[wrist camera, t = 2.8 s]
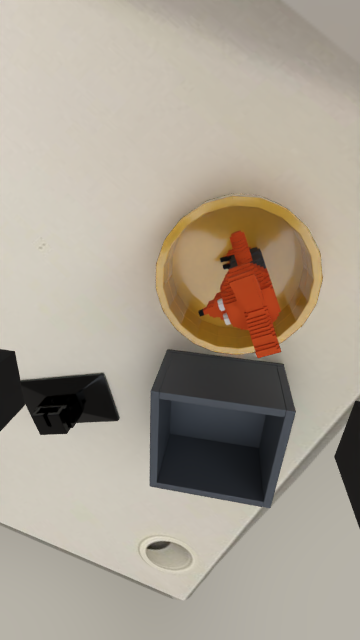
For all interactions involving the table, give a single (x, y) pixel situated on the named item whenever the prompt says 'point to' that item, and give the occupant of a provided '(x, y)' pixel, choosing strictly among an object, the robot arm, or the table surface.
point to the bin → (219, 426)
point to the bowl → (207, 270)
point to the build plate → (68, 402)
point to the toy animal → (247, 296)
